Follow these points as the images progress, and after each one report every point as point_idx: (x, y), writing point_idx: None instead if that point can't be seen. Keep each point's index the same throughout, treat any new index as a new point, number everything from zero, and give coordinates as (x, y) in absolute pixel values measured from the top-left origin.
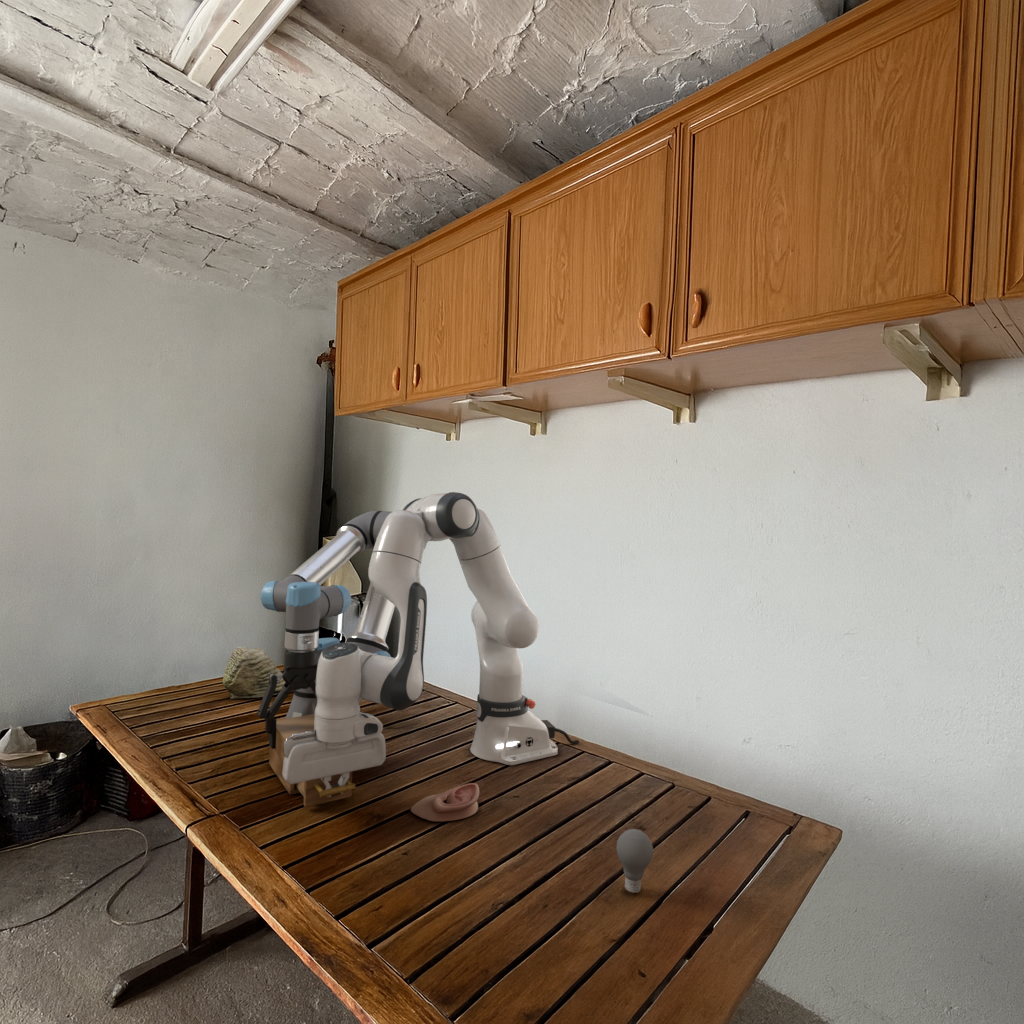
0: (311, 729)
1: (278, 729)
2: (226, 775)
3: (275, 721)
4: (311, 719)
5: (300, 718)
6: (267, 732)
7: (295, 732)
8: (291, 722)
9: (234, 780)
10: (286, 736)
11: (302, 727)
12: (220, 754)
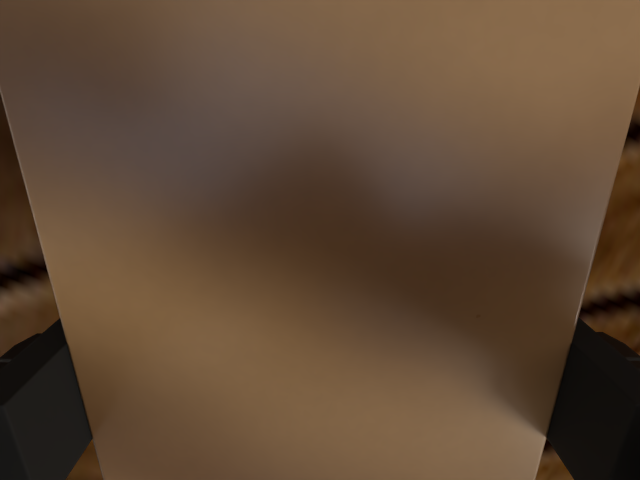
0: (252, 110)
1: (578, 289)
2: (620, 279)
3: (635, 392)
4: (183, 403)
5: (277, 462)
6: (613, 340)
7: (462, 106)
8: (386, 408)
9: (619, 212)
10: (626, 4)
11: (332, 231)
12: (548, 467)
